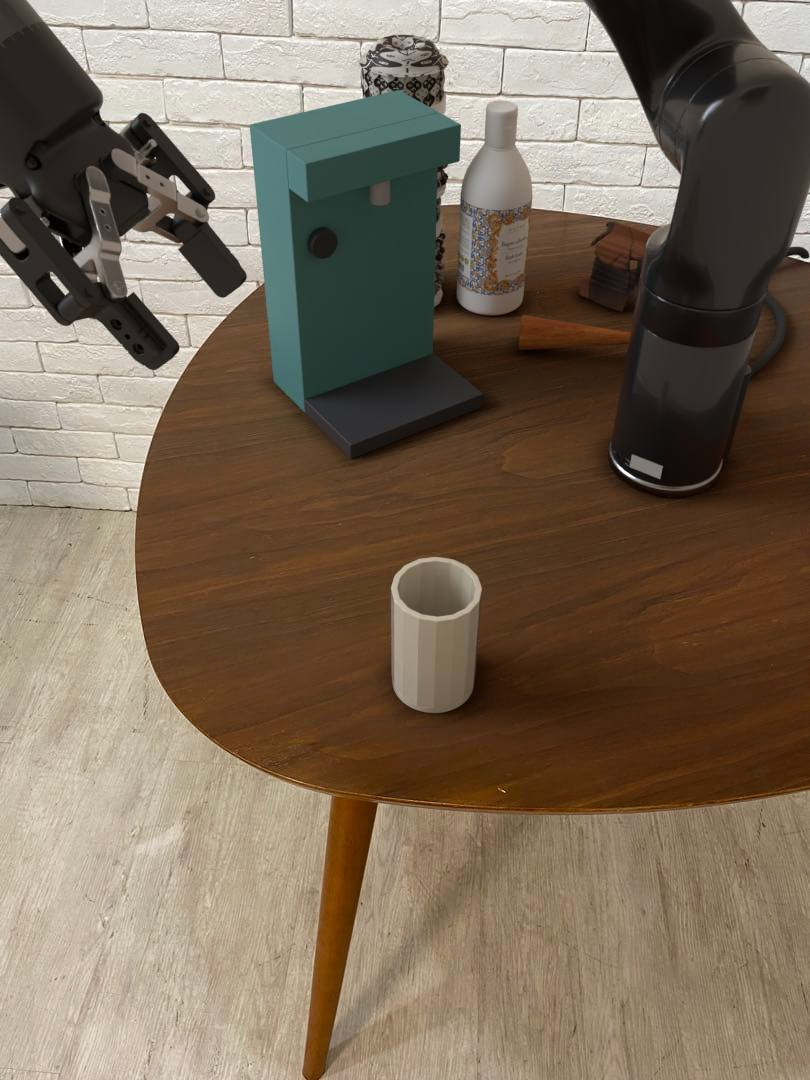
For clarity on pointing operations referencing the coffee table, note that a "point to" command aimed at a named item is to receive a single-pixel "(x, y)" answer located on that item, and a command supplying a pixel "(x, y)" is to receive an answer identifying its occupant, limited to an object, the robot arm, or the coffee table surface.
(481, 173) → the bath foam
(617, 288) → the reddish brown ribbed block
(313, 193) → the coffee maker
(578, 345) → the wooden cone
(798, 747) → the coffee table surface
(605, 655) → the coffee table surface
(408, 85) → the patterned cylindrical canister
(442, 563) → the container
